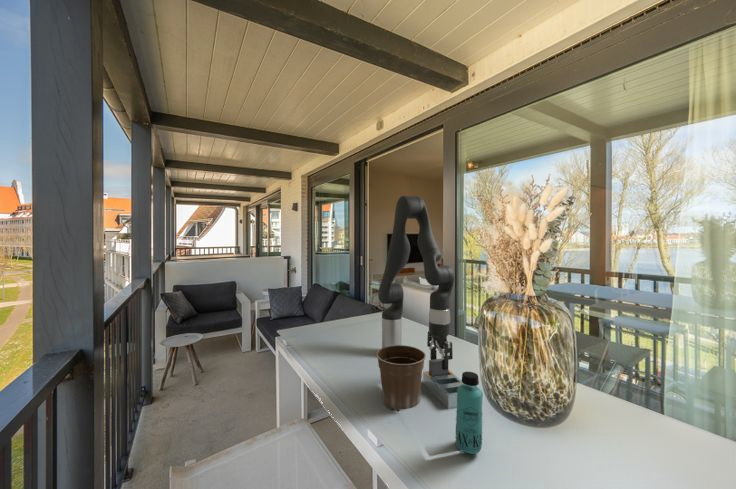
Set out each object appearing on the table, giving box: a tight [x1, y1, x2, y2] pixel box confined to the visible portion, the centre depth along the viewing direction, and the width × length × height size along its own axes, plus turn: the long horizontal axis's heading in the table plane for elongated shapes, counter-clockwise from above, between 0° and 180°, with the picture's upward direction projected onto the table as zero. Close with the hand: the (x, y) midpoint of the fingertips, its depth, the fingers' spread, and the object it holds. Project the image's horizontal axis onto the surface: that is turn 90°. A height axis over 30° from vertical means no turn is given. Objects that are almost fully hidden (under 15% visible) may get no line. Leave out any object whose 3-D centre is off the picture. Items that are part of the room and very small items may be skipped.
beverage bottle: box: [455, 371, 484, 455], centre depth 77 cm, size 6×7×20 cm
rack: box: [422, 369, 464, 410], centre depth 105 cm, size 18×10×5 cm, turn 16°
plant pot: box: [375, 344, 427, 412], centre depth 100 cm, size 16×16×16 cm
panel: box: [428, 358, 449, 377], centre depth 110 cm, size 2×7×9 cm, turn 107°
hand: (439, 364), depth 110 cm, fingers open, 8 cm apart
